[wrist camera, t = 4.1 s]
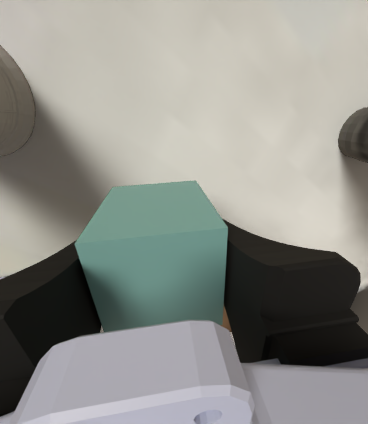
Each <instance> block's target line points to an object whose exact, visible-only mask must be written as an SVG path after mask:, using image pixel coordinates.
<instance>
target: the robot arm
mask: <svg viewBox="0 0 368 424" xmlns="http://www.w3.org/2000/svg"><path fill="white" fill-rule="evenodd" d="M222 220H223V221H224V223H225V224H226V225H227V227H228V237H227V254H226V271H225V288H224V307H225V310H226V313H227V317H228V320H229V324H230V327H231V331H232V334H233V338H234V342H235V345H236V349H237V352H238V355H237V353H236V349H235V346H234V343H233V341H232V338H231V335H230V332H229V330H228V329H226V328H224V327H222V326H220V325H218V324H217V323H215V322H213V321H210V320H183V321H176V322H170V323H163V324H156V325H150V326H143V327H137V328H130V329H123V330H117V331H110V332H103V333H100V330H101V322H100V319H99V316H98V313H97V310H96V307H95V304H94V301H93V298H92V295H91V292H90V289H89V286H88V283H87V280H86V277H85V274H84V271H83V268H82V265H81V262H80V259H79V256H78V253H77V250H76V247H75V242H76V241H77V240H76V241H74V242H73V243H71V244H70V245H68V246H67V247H65V248H64V249H62V250H60V251H59V252H57V253H55V254H54V255H52V256H50V257H48V258H46V259H44V260H42V261H41V262H39V263H37V264H34V265H32V266H30V267H28V268H26V269H23V270H21V271H19V272H17V273H15V274H12V275H10V276H7V277H0V424H368V334H367V333H366V332H365V331H364V330H363V329H362V328H360V326H359V325H358V324H357V323H356V322H358V321H359V318H358V316H357V315H356V314H355V313H354V312H353V311H352V310H351V309H350V307H351V305H352V303H353V301H354V298H355V296H356V294H357V292H358V289H359V286H360V272H359V271H358V269H357V267H355V266H354V265H353V264H351V263H350V262H349V261H347V260H346V259H345V258H343V257H342V256H341V255H339V254H338V253H336V252H331V251H323V250H315V249H308V248H302V247H297V246H292V245H287V244H283V243H279V242H276V241H272V240H269V239H265V238H262V237H260V236H257V235H254V234H252V233H249V232H247V231H245V230H243V229H241V228H238V227H236V226H234V225H233V224H231V223H229V222H227V221H225V220H224V219H222ZM238 357H239V358H238Z"/></svg>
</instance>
